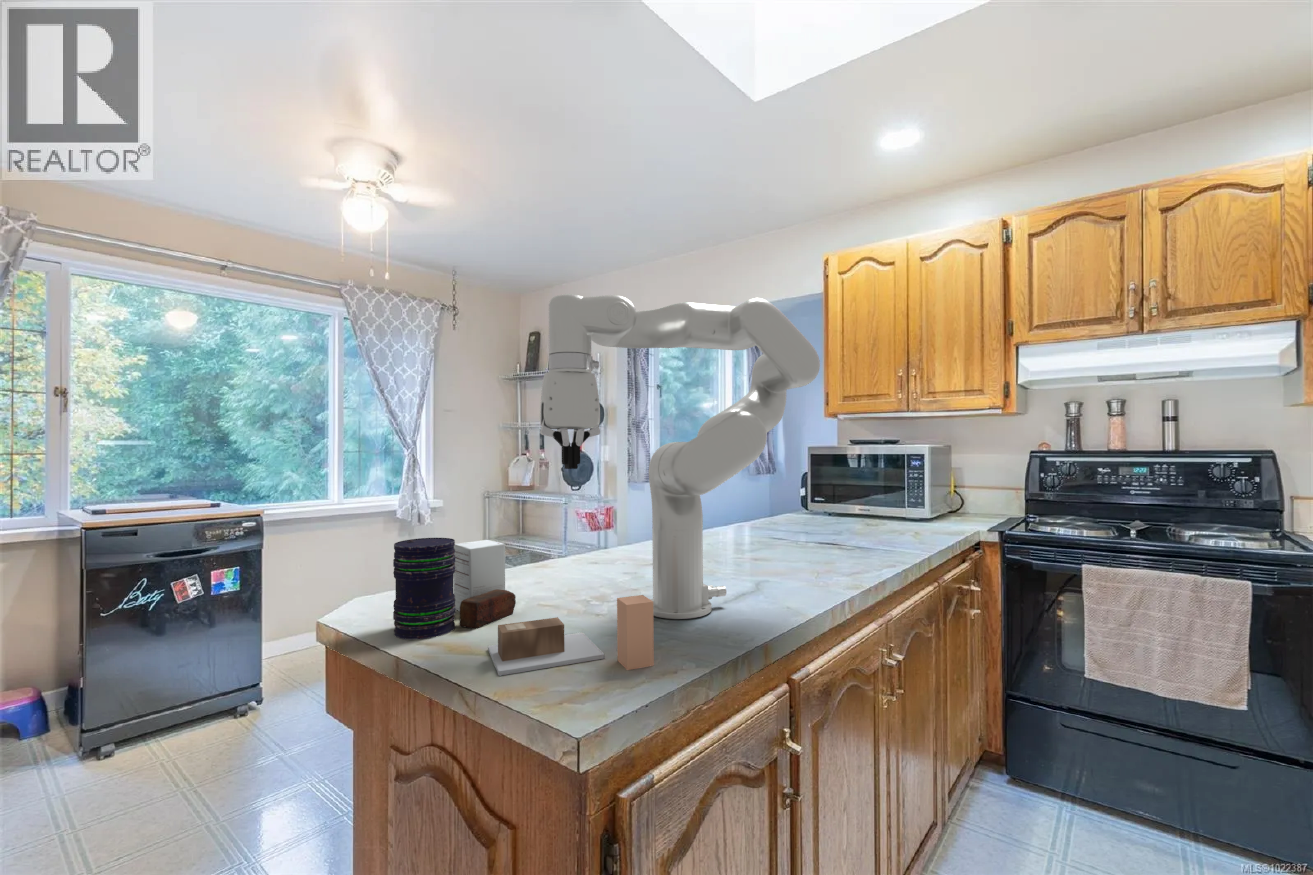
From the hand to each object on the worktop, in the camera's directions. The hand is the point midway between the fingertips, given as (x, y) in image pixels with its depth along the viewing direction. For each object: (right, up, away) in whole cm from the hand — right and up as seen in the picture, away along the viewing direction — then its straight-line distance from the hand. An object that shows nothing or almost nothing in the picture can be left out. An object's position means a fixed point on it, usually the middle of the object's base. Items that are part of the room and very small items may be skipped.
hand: (570, 468), depth 102 cm
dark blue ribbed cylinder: (-24, -28, -5) cm, 37 cm away
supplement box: (-19, -28, +8) cm, 34 cm away
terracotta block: (+12, -27, -20) cm, 36 cm away
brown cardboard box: (+1, -24, -15) cm, 29 cm away
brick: (-15, -28, +1) cm, 31 cm away
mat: (-1, -27, -16) cm, 32 cm away
